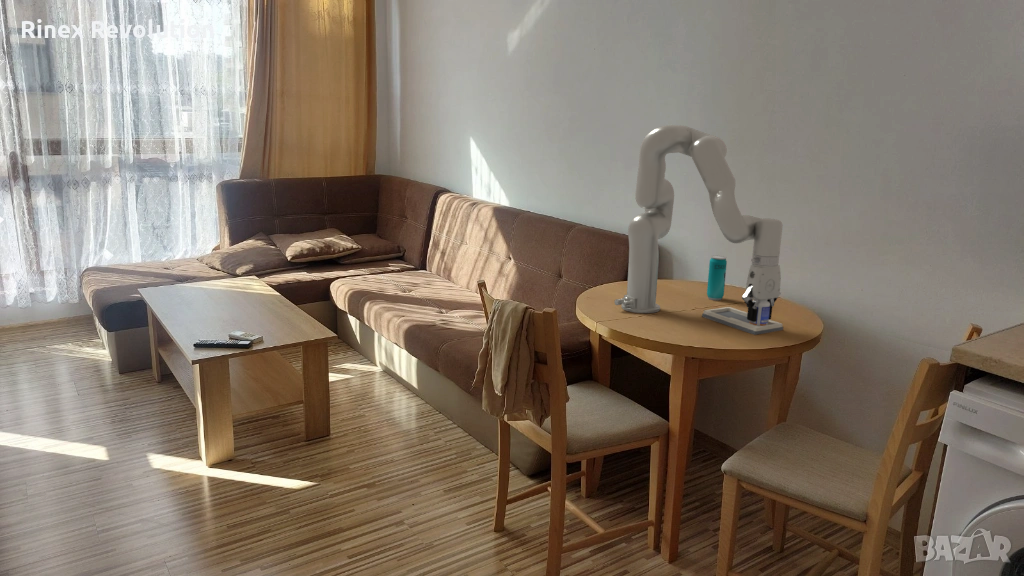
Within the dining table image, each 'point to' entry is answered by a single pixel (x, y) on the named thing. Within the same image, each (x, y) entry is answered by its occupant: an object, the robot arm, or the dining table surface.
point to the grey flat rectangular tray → (739, 320)
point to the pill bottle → (762, 313)
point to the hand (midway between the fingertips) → (759, 318)
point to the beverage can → (716, 277)
